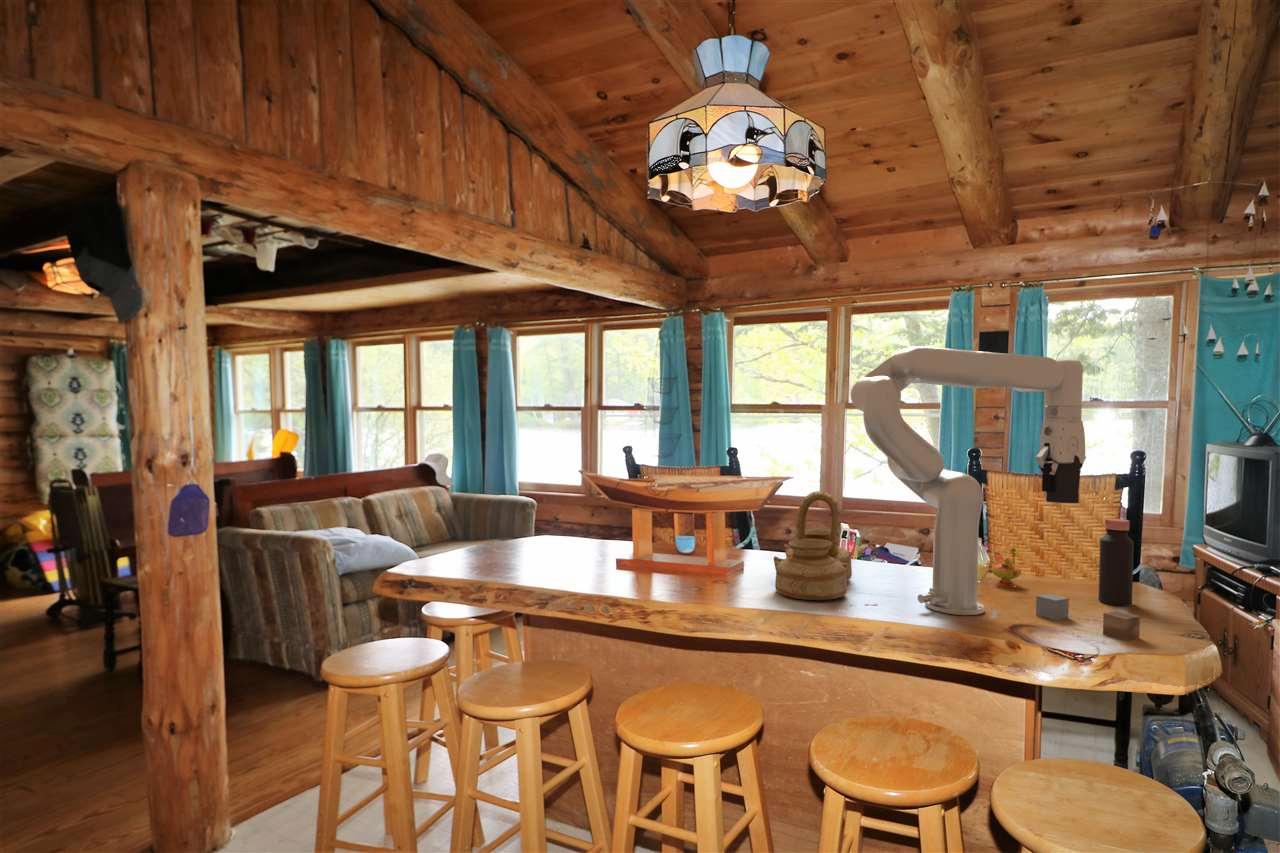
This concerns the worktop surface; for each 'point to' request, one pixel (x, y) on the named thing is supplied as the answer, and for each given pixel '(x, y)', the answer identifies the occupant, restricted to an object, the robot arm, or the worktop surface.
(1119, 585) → the bottle
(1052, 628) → the worktop surface
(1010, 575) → the flower arrangement
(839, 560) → the ceramic vessel
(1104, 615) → the walnut block
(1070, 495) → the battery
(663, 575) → the worktop surface
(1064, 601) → the grey block
